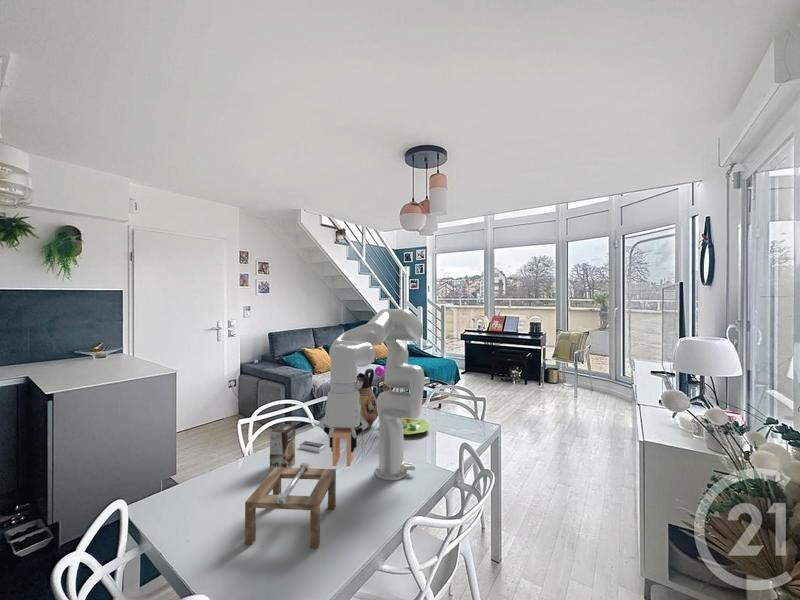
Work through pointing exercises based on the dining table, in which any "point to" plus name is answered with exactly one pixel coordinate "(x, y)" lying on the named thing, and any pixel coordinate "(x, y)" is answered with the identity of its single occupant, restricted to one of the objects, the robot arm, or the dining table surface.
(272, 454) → the coffee box
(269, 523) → the dining table surface
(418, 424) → the flower ornament
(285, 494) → the metal guide rod
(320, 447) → the multiport hub
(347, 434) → the slotted peach block
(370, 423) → the ceramic jug
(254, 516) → the open wooden frame
